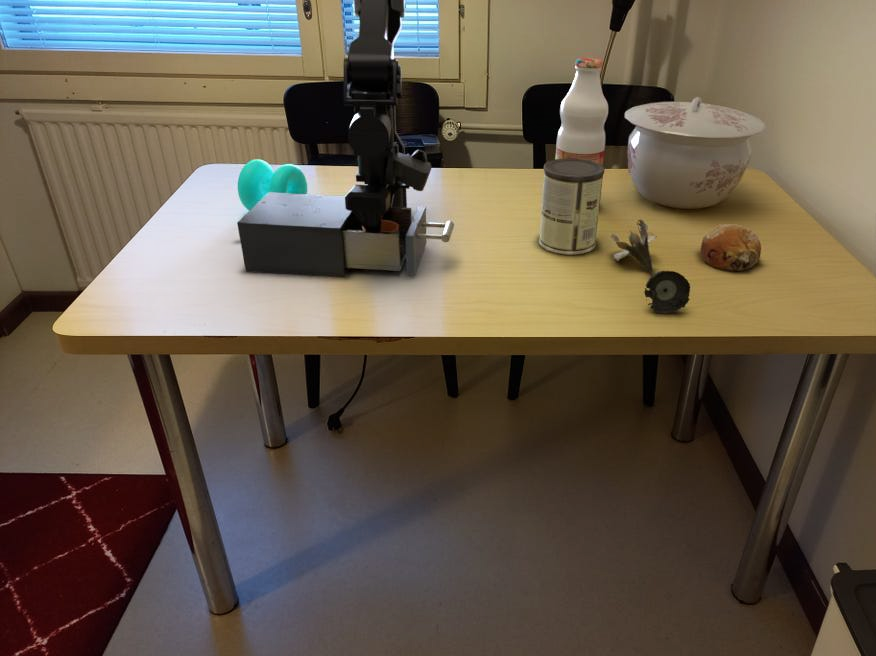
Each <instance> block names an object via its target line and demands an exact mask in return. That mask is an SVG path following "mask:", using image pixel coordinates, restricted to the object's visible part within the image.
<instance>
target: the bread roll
mask: <svg viewBox="0 0 876 656" xmlns="http://www.w3.org/2000/svg"><path fill="white" fill-rule="evenodd" d="M700 245H701V246H700V257H701V258H702V261H703V262H704V263H706V264H707V265H709V266H711V267H713V268H716V269H719V270H725V271H731V272H734V271H737V272H740V271H745V270H748V269H751V268H752V267H753V266H755V265H756V263H758V262H760V258H761V254H762V244H761V241H760V238H759V236H758V235H757V233H756V232H754V231H752V230H751V229H750V228H748V227H745V226H744V225H741V224H730V223H729V224H727V223H726V224H718V226H716V227H715V228H713V229H711V230H710V231H709V232H708V233H707V234H705V235H704V236H703V238H702V241H701V244H700Z"/></svg>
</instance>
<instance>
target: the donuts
mask: <svg viewBox="0 0 876 656" xmlns="http://www.w3.org/2000/svg"><path fill="white" fill-rule="evenodd" d="M268 192H272V193H292V194H308V182H307V178H306V176H305V173H304V172H303V170H302V169H301V167H299V166H297V165H295V164H292V163H286V164H282V165H281V166H278V168H277V169H276V170H274V169H273V168H272V166H271V165H270V164H269V163H268V162H266V161H265V160H262V159H257V158H256V159H255V158H254V159H251V160H250V161H248V162H246V163H245V164H244V165H243V167H242V168H241V170H240V172H239V174H238V179H237V194H238V198H239V200H240V202H241V204H242V206H243V207H244V208H245V209H246V210H248V212H249V211H250V210H251V209H252V208H253V207H254V206H255V205H256V204H257V203H258V202H259V201H260V200H261V199H262V198H263V197H264V196H265V195H266V194H267V193H268Z"/></svg>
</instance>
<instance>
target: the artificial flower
mask: <svg viewBox="0 0 876 656" xmlns="http://www.w3.org/2000/svg"><path fill="white" fill-rule="evenodd" d="M636 226H637V229H638V233H639V234H638V233H636V232H633V231H631V230H629V235H628V240H629V243H627V242H626V241H620V239H619V238H618V236H617V235H616V234H615V233H611V234H610V238H611V239H612V240H613V241H614V242H615V244H616V246H617V247H618V248H619V249H621V250H623V251H620V252H617V253H614V255H613V259H615V260H616V262H619V261H621V260H622V259H624V258H625V257H626V256H628V255H631V257H632V258H634V259H635V260H636V261H637V262H638V263H639V265H640V266H641V267H643V268H644V269H645V270H647V271H648V272H649V273H650V274H651V276H650V277H649V278H648V280H647V282H646V284H645V288H644V292H643V293H644V297H645V298H650V300H652V301H651V302H649V303H648V304H647V306H650V307H649V309H651V310H653V311H654V312H655V313H657V314H662V315H668V314H670V313H671V312H677V311H680V310H681V309H685V308H686V305H687V304H688V303H689V302H690V300H691V299H690V298H689V297H690V292H691V283H690V282H689V280H688V279H687V278H686V277H685V276H684V275H683V274H682V273H679V272H677V271H673V270H660V271H657V272H656V273H655V272H654V269H653V263H652V262H653V261H652V257H651V253H650V247H649V244H650V243H651V242H652V241H653V240H655V238H657V234H653V235H652V234H651V236H650V237H649V233H648V228H649V226H648V224H646V222H645V221H644V220H642V219H639V220H637V222H636ZM639 227H640V228H639ZM647 301H648V299H646V300H645V302H647Z"/></svg>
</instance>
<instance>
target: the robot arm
mask: <svg viewBox="0 0 876 656" xmlns="http://www.w3.org/2000/svg"><path fill="white" fill-rule="evenodd" d="M353 14H354V15H355V17H356V18H359V27H358V29H359V30H358V36H357V37H356V38H355V39H354V40H352V41H351V42H350V43H349V46H348V51H347V58H343V105H344V106H354V108H353V110H354V115H353V118H352V120H351V122H350V124H349V128H348V132H347V139H348V144H349V146H350V147H351V149H352V150H353V154H354V156H357V165H358V166H357V167H358V171H357V172H356V174H355V182H357V183H363V184H354V185H353V187H351V188H350V189H349V190H348V192H347V193H346V195H345V206H346V210H348V211H354V213H355V214H356V216H357V217H358V219H359V220H360V222H361V224H362V225H363V227H364V229H365V230H366V231H378V232H381V226H382V220H390V214H391V209H392V207H405V208H408V202H407V201H408V200H407V190H410V188H412V189H413V190H415V191H417V192H423V191H424V189H425V187H426V185H427V182H428V179H429V176H430V174H431V171H432V168H433V166H432V163H431V162H429V161H428V155H427V152H426V151H424V150H423V149H419V148H418V149H417V150H415V151H414V152H413V153H412V154H410V153H407V154H406V146H405V144H404V143H403V141H402V139H401V138H400V136H399V134H398V132H397V119H396V117H397V116H396V107H397V106H398V99H402V67H401V66H400V65H399V61H398V59H397V58H395V53H394V50H395V49H394V45H395V43H396V41H397V39H398V37H399V35H400V33H401V31H402V29H403V26H402V25H403V23H402V22H403V21H402V20H403V19H404V18H406V0H353ZM350 91H351V92H350Z"/></svg>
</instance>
